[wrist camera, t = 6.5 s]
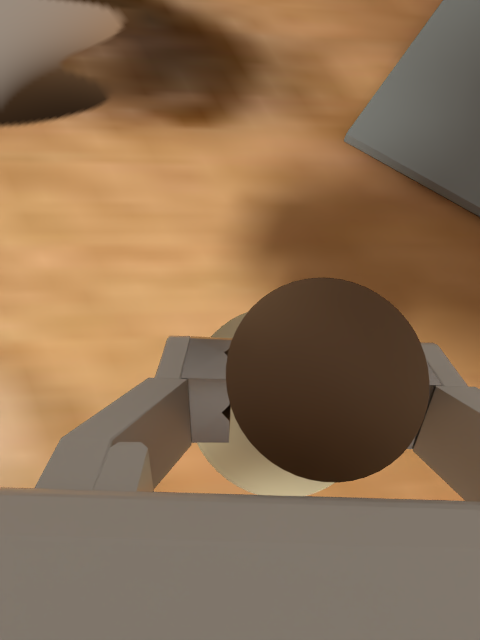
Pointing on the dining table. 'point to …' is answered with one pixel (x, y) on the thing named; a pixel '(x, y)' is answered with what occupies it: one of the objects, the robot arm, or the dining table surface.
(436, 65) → the mat
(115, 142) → the dining table surface
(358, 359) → the brown peg on disc
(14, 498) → the robot arm
